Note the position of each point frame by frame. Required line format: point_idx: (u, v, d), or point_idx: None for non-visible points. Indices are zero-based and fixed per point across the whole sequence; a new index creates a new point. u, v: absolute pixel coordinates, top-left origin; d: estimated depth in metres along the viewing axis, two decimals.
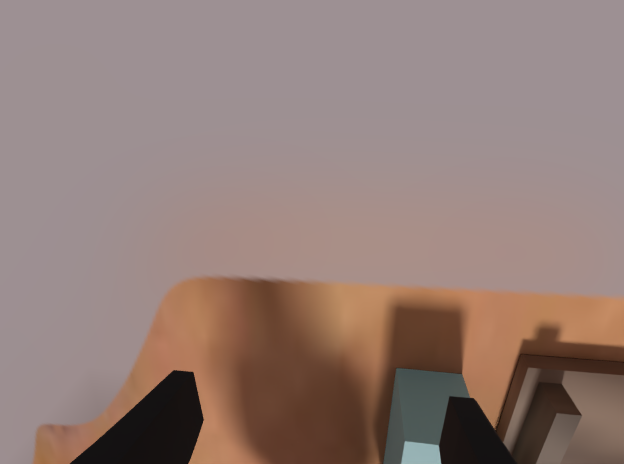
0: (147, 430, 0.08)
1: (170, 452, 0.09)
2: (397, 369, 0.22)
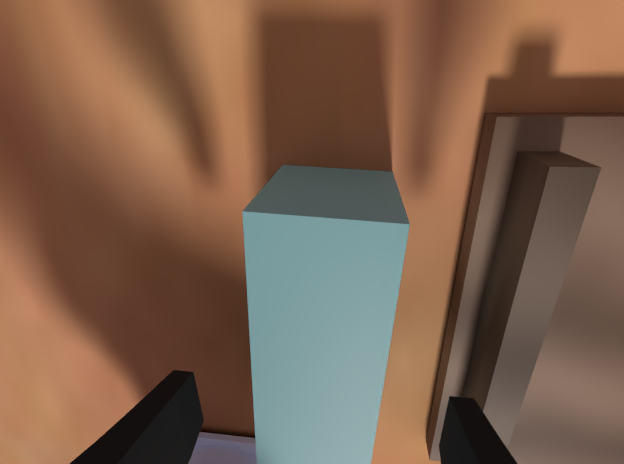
0: (147, 430, 0.08)
1: (170, 452, 0.09)
2: (283, 165, 0.13)
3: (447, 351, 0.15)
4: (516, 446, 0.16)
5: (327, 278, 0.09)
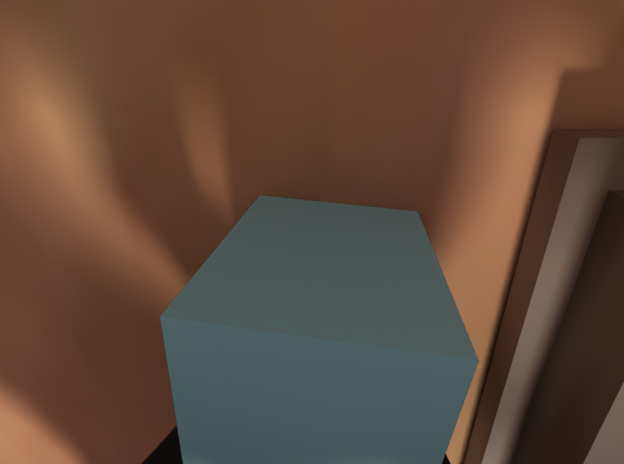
0: None
1: None
2: (260, 198, 0.09)
3: (479, 446, 0.11)
4: None
5: (316, 430, 0.05)
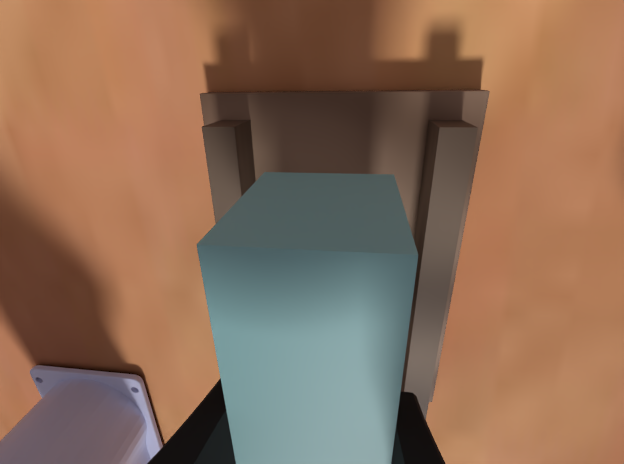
0: (210, 437, 0.08)
1: (227, 459, 0.09)
2: (264, 175, 0.11)
3: None
4: None
5: (314, 325, 0.07)
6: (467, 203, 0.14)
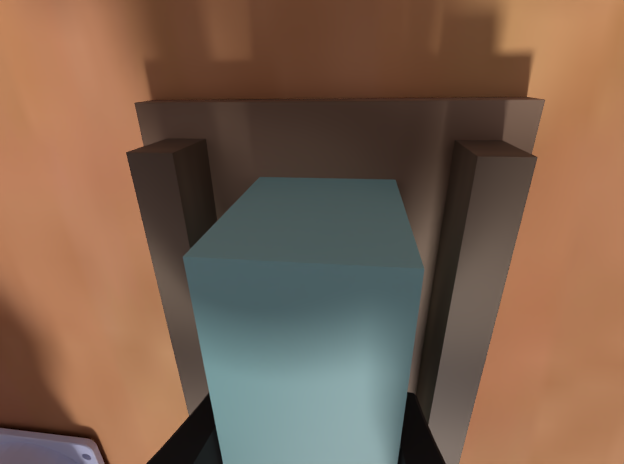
0: (210, 438, 0.08)
1: None
2: (259, 179, 0.10)
3: None
4: None
5: (310, 343, 0.06)
6: None
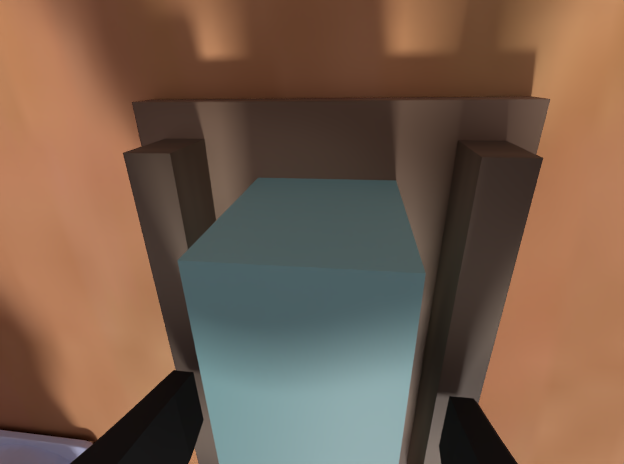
0: (147, 430, 0.08)
1: (170, 452, 0.09)
2: (257, 180, 0.10)
3: None
4: None
5: (308, 348, 0.06)
6: None
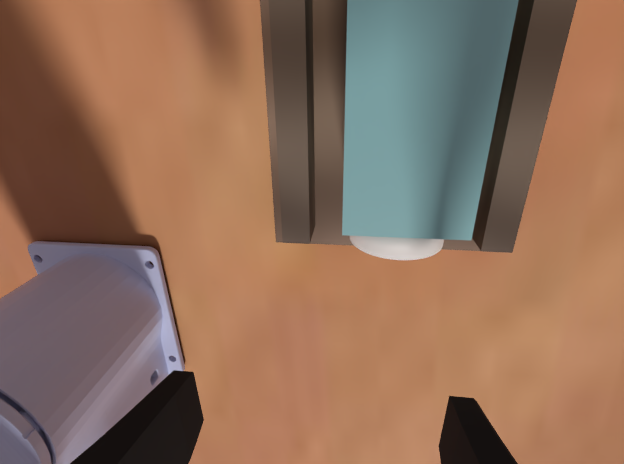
0: (147, 430, 0.08)
1: (170, 452, 0.09)
2: None
3: None
4: None
5: None
6: None
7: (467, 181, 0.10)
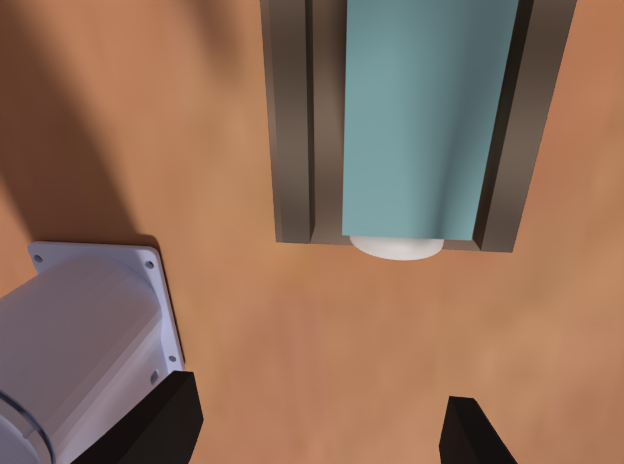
0: (147, 430, 0.08)
1: (170, 452, 0.09)
2: None
3: None
4: None
5: None
6: None
7: (467, 181, 0.10)
